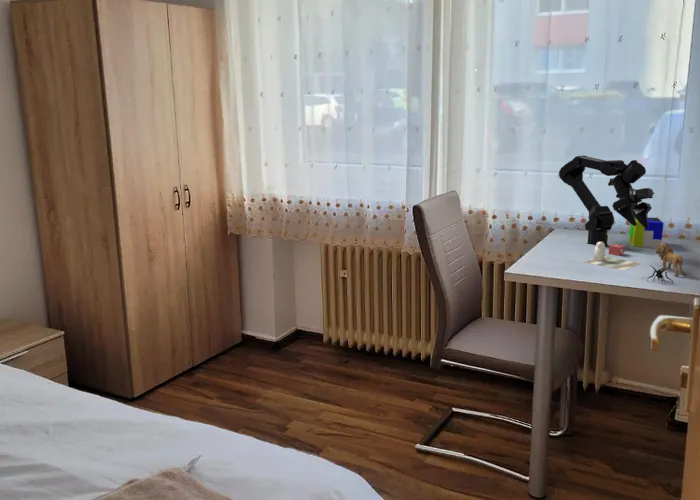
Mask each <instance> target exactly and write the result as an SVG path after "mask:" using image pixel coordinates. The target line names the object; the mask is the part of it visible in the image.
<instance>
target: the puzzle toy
mask: <svg viewBox="0 0 700 500" xmlns="http://www.w3.org/2000/svg"><path fill="white" fill-rule="evenodd" d="M635 220H636V223H637V225H636V226H633V225H632V224H631V223H630V226H629V234H628V236H629V237H628V242H629V243H630V244H631V245H632V246H633V247H636V248H654V249H655V248H657V247H658V246H659V244H660V243H663V242H662V241H663V233H664V230H663V229H664V222H663V221H662V220H661V219H660V218H659V217H648V226H649V227H648V228H647V229H645V228H644V227H643V226H642V225H641V224H640V222H639V221H638V220H637V219H636V218H635Z"/></svg>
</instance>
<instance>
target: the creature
mask: <svg viewBox="0 0 700 500" xmlns="http://www.w3.org/2000/svg"><path fill="white" fill-rule="evenodd" d="M649 266H650V267H652V269H653V270H654V271H653V273H652V275H650V276H649V277H647V278H646V282H647V283H649V281H648V279H650V278H652V277H653V282H656V281H655V279H656V278H657V280H658V281H660V279H661V284H663V282H664V284H666V283H667V282H666V280H665V278H666V279H667V280H670V281H671V282H672V283H671V285H673V284H674V281H673V280H672V279H671V278H670V277H668V274H667V273H668V272H667V271H666V270H668V269H667V267H668V266H667V267H666V269H664V270H661V268H659V269H658V270H657V269H656V268H655V267H653V266H652V265H650V264H649ZM668 268H669V267H668ZM664 272H665V276H664V275H663V273H664ZM655 273H656V274H655ZM654 275H655V276H654Z"/></svg>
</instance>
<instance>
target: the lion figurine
mask: <svg viewBox="0 0 700 500" xmlns="http://www.w3.org/2000/svg"><path fill="white" fill-rule="evenodd" d="M653 250H654V253H655V254H656V255H658V256H659V258H660V260H661V261H662V267H661V268H660V269H661V271H663V270H664V269H666V268H667V269H666V270H672V268H673V269H674V272H675V273H674V275H673V276H674V277H679V275H682V276H683V277H687V274H685V273H684V272H683V263H684V262H683V257H682V256H681V255H680V254H676V253H674V251H673V249H672V248H671V246H669V245H668V244H667V243H665V242H661V243H660V244H659V246H658V247H657V248H655V247H654V249H653ZM667 263H668V265H667ZM668 267H669V268H668Z"/></svg>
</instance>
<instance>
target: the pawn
mask: <svg viewBox="0 0 700 500" xmlns="http://www.w3.org/2000/svg"><path fill="white" fill-rule="evenodd" d="M606 247H607V246H605V244H604V243H603V242H598V243H597V244H596V245H594V253H593V254H594V255H593V259H594V260H595V261H604V260H605V256H606Z"/></svg>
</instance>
